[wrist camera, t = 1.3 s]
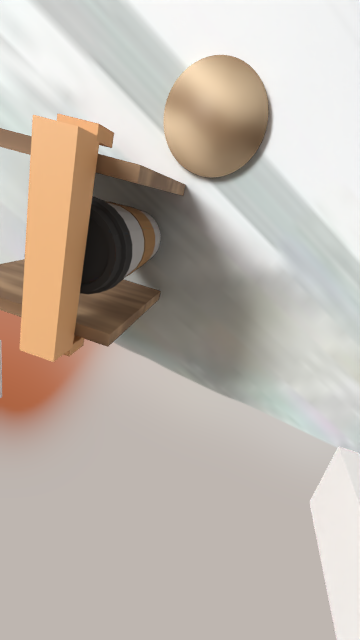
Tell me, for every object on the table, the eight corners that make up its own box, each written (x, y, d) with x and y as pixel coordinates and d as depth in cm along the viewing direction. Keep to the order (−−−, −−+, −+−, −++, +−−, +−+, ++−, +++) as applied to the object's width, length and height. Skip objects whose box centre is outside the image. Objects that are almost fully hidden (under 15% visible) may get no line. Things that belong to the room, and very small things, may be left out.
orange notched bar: (76, 123, 22) (33, 101, 18) (113, 132, 22) (79, 112, 18) (54, 335, 29) (19, 357, 25) (83, 345, 29) (52, 369, 24)
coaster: (178, 47, 31) (177, 44, 31) (284, 70, 30) (285, 67, 29) (155, 164, 35) (154, 163, 35) (248, 188, 34) (247, 187, 34)
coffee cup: (111, 270, 41) (39, 299, 27) (102, 203, 38) (17, 198, 24) (171, 268, 39) (128, 298, 25) (167, 198, 36) (115, 188, 22)
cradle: (53, 149, 37) (-71, 109, 23) (185, 184, 35) (140, 165, 21) (44, 263, 43) (-62, 289, 28) (158, 299, 41) (107, 346, 26)
